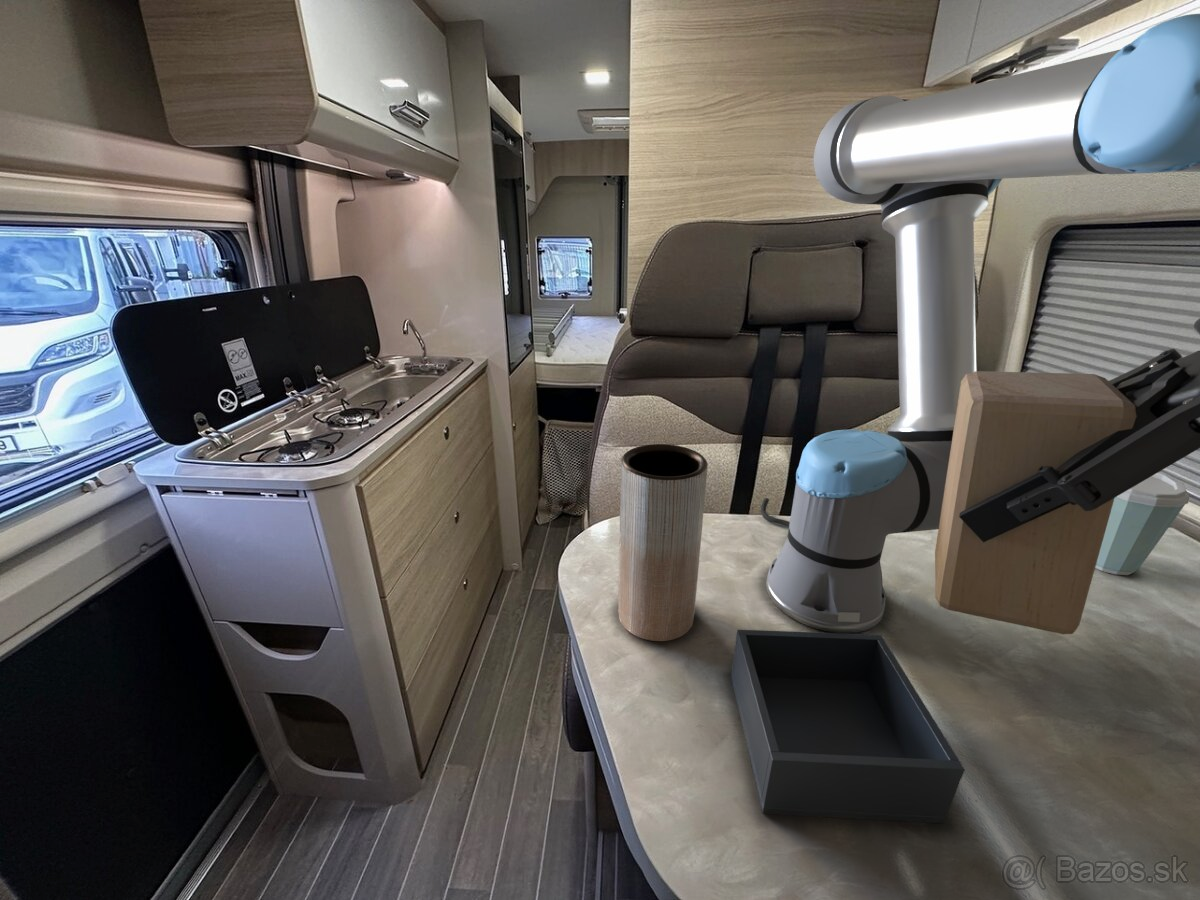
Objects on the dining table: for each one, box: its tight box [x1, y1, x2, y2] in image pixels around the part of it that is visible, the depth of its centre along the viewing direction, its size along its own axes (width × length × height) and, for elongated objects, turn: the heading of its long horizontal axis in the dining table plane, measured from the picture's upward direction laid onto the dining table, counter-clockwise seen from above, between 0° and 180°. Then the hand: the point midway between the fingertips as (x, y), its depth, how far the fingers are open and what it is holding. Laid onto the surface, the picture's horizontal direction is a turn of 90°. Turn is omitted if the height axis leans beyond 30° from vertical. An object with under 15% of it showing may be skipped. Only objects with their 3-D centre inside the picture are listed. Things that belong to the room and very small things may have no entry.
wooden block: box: [934, 370, 1137, 635], centre depth 46 cm, size 10×10×20 cm
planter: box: [617, 443, 708, 642], centre depth 66 cm, size 10×10×23 cm
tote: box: [730, 629, 965, 824], centre depth 52 cm, size 16×16×7 cm
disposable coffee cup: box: [1095, 471, 1190, 576], centre depth 79 cm, size 11×11×15 cm
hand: (974, 499), depth 48 cm, fingers closed on wooden block, 11 cm apart
